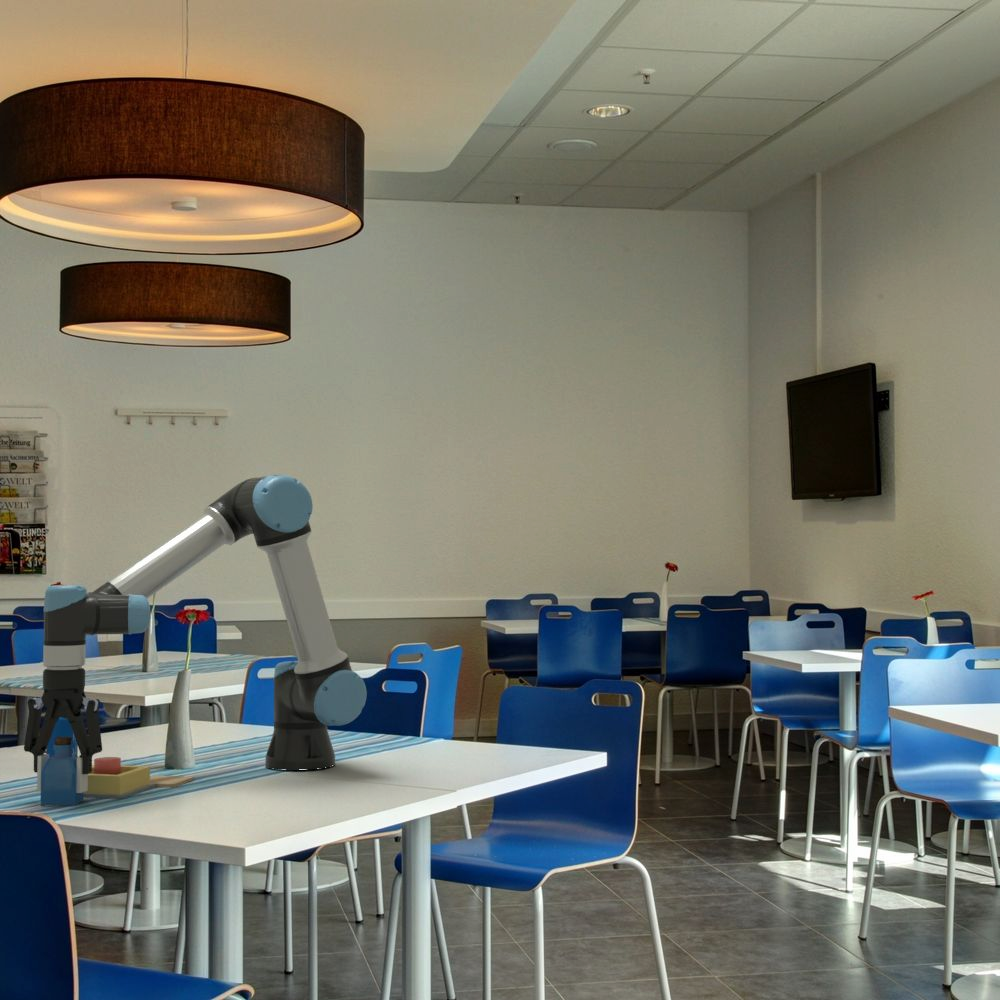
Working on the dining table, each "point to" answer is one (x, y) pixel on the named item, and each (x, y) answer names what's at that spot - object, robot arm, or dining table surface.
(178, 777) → the coaster
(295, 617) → the robot arm
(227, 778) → the dining table surface
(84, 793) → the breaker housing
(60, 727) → the beverage can
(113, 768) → the red short rounded piece
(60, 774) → the perfume bottle
